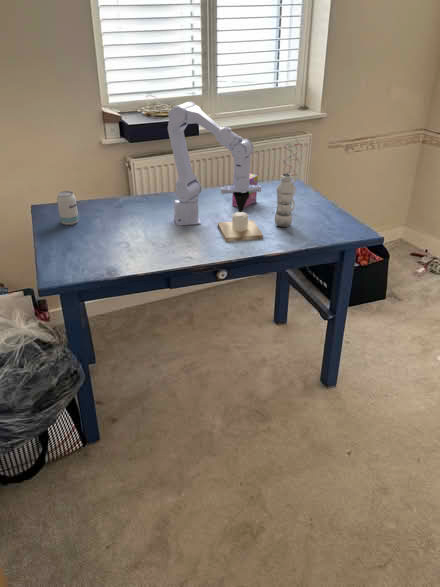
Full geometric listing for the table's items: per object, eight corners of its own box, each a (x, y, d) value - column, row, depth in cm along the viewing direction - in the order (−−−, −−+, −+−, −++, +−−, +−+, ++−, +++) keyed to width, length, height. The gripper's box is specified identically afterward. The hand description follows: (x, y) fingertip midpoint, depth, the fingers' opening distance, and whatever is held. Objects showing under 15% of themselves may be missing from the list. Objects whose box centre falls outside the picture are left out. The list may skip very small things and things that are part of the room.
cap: (234, 232, 187) (234, 218, 185) (231, 226, 192) (231, 212, 189) (248, 230, 188) (249, 217, 186) (245, 225, 193) (245, 211, 190)
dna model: (294, 215, 205) (301, 140, 190) (278, 214, 206) (284, 139, 191) (294, 209, 211) (301, 136, 195) (279, 208, 212) (284, 135, 196)
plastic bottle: (290, 229, 193) (295, 178, 183) (273, 227, 195) (276, 177, 184) (292, 222, 199) (296, 173, 188) (274, 221, 200) (278, 172, 190)
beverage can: (72, 227, 193) (68, 197, 187) (57, 225, 195) (52, 195, 189) (82, 220, 199) (78, 191, 193) (67, 218, 201) (62, 189, 194)
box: (242, 208, 211) (243, 181, 205) (231, 205, 214) (232, 178, 208) (256, 201, 218) (258, 175, 212) (245, 198, 221) (246, 172, 215)
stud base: (225, 241, 184) (225, 227, 181) (217, 226, 196) (217, 212, 193) (262, 238, 186) (263, 224, 184) (252, 223, 198) (253, 210, 195)
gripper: (224, 180, 175) (223, 216, 182) (264, 177, 177) (262, 213, 185) (219, 173, 181) (219, 209, 188) (258, 171, 183) (257, 206, 190)
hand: (240, 211), depth 187 cm, fingers closed
